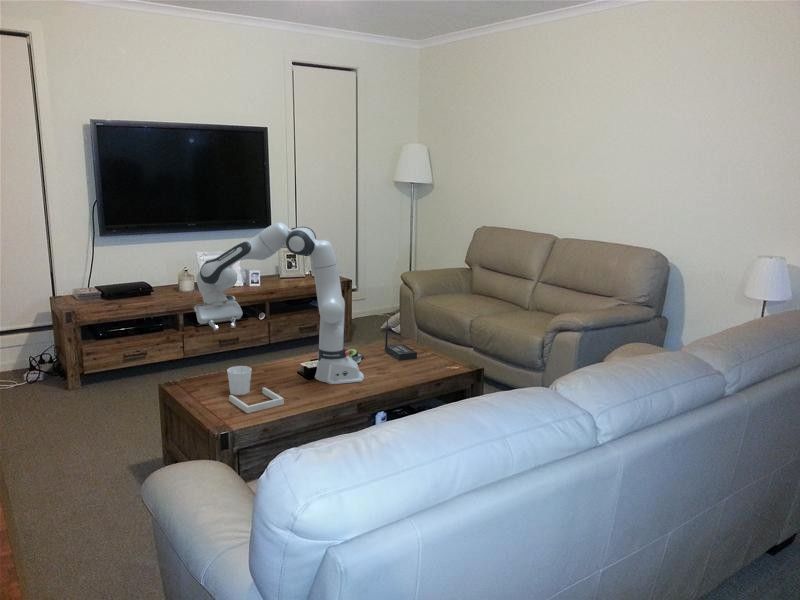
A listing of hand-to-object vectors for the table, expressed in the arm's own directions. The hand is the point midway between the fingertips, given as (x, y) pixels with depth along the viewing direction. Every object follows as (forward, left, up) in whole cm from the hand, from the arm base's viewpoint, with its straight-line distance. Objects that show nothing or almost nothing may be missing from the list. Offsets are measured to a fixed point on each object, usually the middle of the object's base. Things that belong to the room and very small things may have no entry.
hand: (225, 328), depth 271 cm
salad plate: (-57, -25, -24) cm, 66 cm away
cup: (-7, +15, -24) cm, 29 cm away
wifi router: (-86, -33, -24) cm, 95 cm away
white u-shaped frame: (-14, +27, -24) cm, 39 cm away
